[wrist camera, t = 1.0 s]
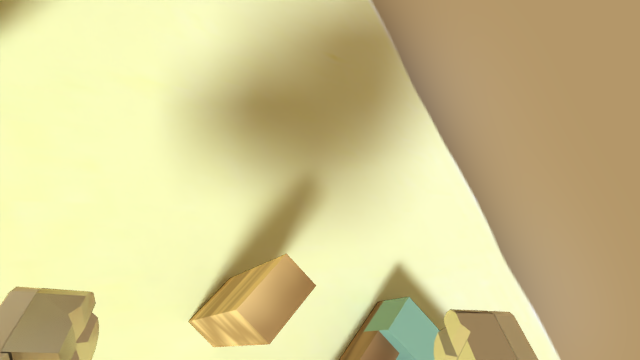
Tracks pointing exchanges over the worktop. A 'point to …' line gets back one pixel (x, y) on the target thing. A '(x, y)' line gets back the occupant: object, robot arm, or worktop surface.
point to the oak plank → (253, 304)
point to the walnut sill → (394, 333)
